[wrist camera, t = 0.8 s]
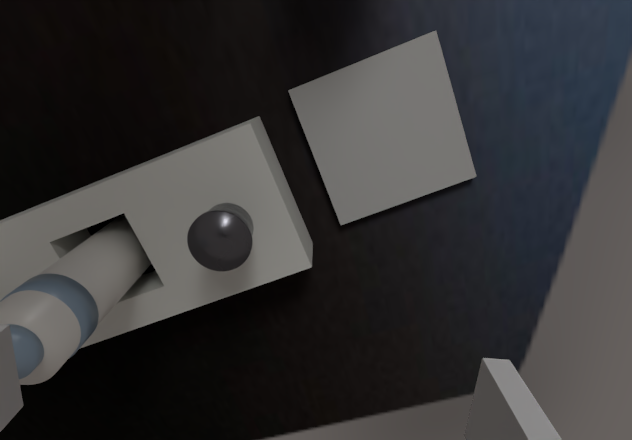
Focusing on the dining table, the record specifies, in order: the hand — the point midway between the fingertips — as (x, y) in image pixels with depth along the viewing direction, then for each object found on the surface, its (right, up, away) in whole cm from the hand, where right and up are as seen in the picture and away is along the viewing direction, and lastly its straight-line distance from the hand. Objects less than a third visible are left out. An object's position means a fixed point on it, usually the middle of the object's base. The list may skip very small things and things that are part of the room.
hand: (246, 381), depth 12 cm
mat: (+8, +12, +24) cm, 28 cm away
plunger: (-4, +4, +19) cm, 20 cm away
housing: (-14, +3, +27) cm, 31 cm away
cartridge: (-14, +3, +27) cm, 31 cm away
